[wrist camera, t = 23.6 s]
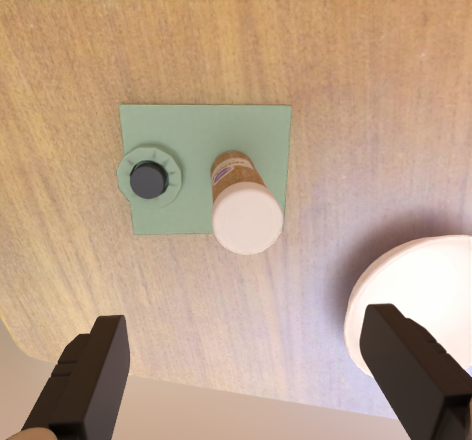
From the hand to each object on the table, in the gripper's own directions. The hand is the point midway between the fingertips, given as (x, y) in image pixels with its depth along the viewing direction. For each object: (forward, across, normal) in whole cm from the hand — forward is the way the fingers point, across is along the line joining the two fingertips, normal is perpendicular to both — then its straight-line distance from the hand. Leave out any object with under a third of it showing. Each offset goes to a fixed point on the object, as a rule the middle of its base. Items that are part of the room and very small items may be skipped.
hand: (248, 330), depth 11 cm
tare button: (+22, +6, 0) cm, 23 cm away
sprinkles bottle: (+24, -2, 0) cm, 24 cm away
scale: (+24, +1, 0) cm, 25 cm away
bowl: (+24, -23, +15) cm, 37 cm away
